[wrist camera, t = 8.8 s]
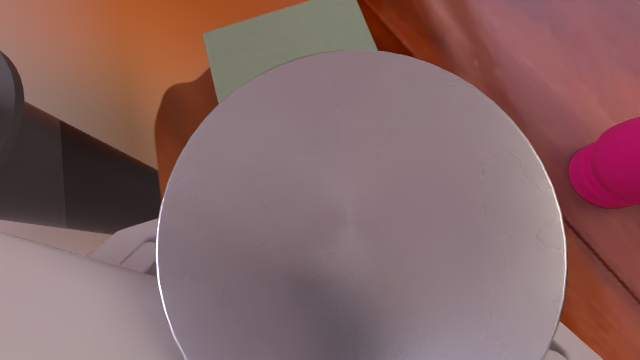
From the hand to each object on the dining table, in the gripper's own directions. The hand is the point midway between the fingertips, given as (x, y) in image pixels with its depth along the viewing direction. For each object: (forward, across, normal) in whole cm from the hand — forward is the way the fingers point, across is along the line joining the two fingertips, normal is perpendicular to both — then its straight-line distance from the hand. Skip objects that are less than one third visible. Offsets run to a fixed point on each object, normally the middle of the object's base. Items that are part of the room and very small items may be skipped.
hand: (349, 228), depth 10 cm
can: (+4, 0, +5) cm, 6 cm away
